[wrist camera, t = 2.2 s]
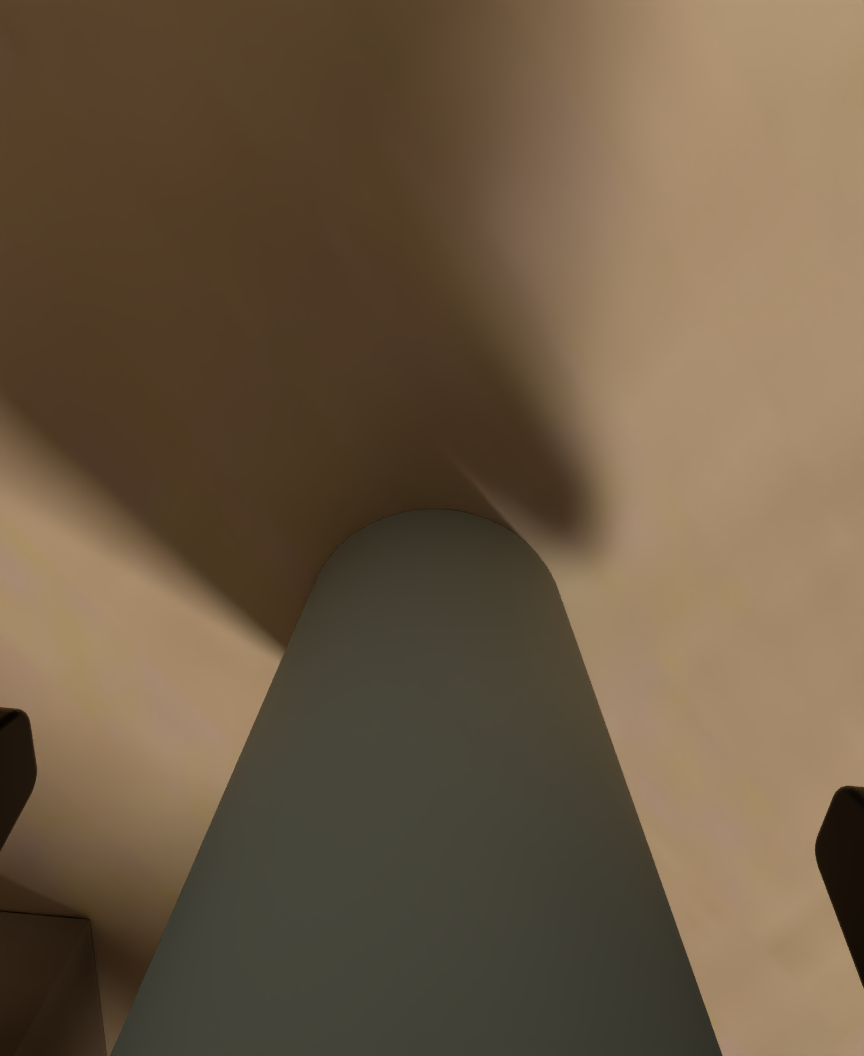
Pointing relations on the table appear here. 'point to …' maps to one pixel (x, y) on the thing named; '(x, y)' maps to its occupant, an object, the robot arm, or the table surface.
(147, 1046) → the peg
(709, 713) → the table surface
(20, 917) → the socket block
